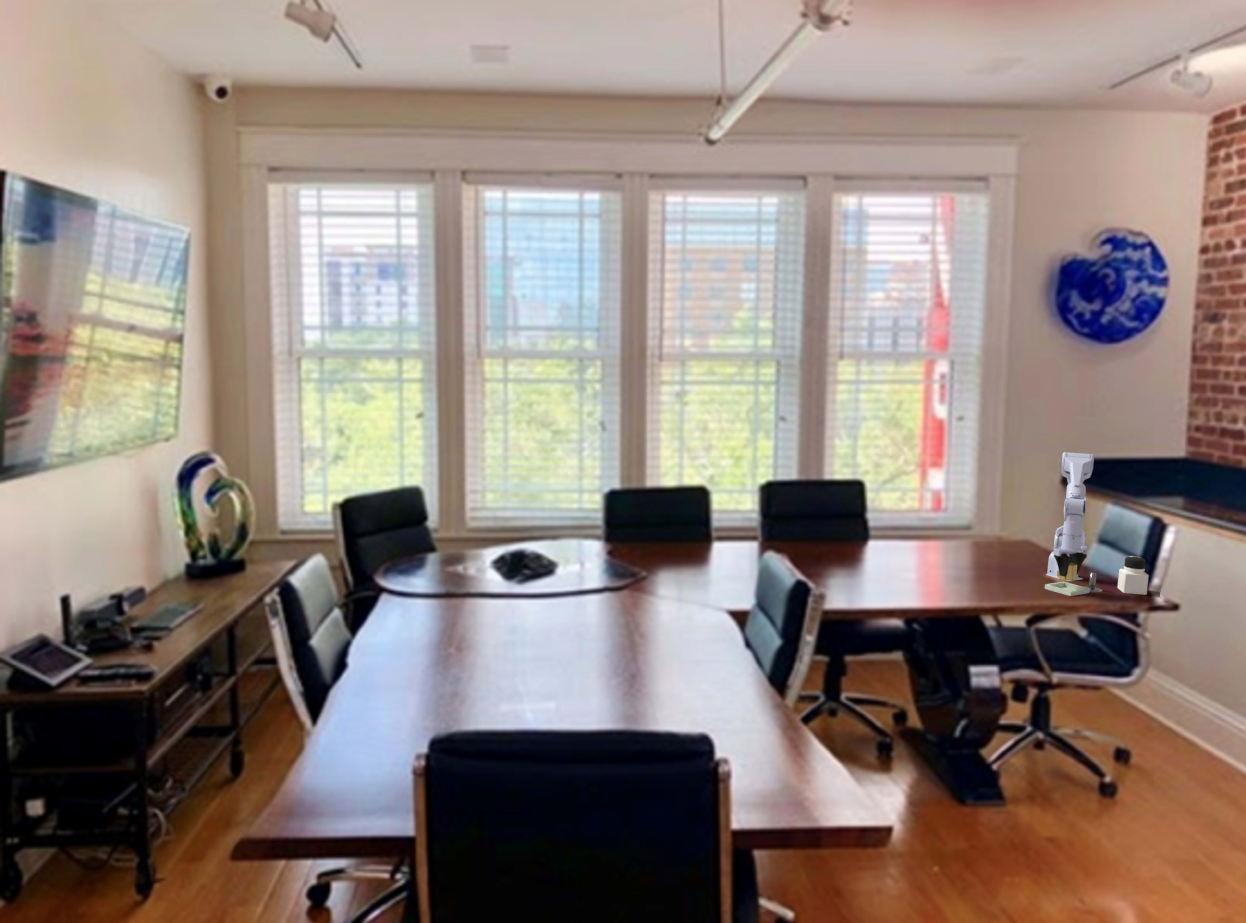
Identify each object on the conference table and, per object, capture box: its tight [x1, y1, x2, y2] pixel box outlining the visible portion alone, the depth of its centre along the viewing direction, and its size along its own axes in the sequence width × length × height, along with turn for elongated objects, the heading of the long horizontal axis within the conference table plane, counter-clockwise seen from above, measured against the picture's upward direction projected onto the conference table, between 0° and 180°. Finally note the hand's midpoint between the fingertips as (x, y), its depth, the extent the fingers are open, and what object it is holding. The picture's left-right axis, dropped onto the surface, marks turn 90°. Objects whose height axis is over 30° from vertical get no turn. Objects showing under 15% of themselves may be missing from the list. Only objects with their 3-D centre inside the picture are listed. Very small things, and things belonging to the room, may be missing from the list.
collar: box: [1057, 563, 1077, 582], centre depth 318 cm, size 5×6×5 cm
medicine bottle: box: [1117, 555, 1150, 596], centre depth 319 cm, size 7×7×12 cm
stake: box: [1084, 572, 1103, 593], centre depth 321 cm, size 6×6×6 cm
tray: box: [1044, 581, 1091, 597], centre depth 318 cm, size 10×10×2 cm
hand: (1068, 575), depth 317 cm, fingers closed on collar, 5 cm apart
